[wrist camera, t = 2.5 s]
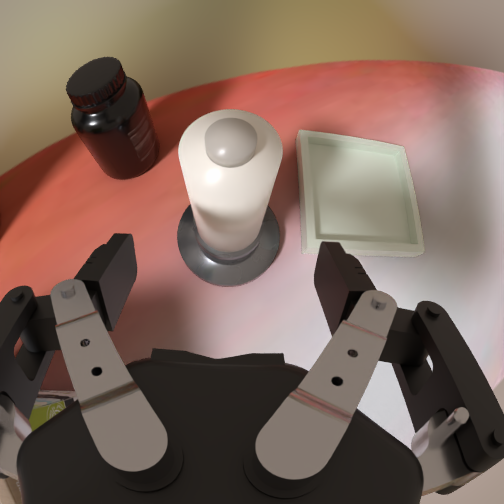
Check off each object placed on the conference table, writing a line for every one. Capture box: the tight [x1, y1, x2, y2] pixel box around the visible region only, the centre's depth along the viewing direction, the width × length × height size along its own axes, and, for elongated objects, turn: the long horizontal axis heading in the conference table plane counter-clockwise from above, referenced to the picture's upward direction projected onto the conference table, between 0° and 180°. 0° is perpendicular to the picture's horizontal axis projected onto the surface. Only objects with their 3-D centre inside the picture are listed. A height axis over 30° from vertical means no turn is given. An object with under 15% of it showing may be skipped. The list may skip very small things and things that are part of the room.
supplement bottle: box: [66, 57, 159, 180], centre depth 23 cm, size 7×7×12 cm
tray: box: [296, 130, 425, 257], centre depth 28 cm, size 13×13×2 cm
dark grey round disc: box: [177, 204, 280, 287], centre depth 25 cm, size 9×9×4 cm
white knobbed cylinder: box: [178, 109, 283, 253], centre depth 18 cm, size 5×5×11 cm
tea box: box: [0, 390, 78, 504], centre depth 13 cm, size 15×10×15 cm
